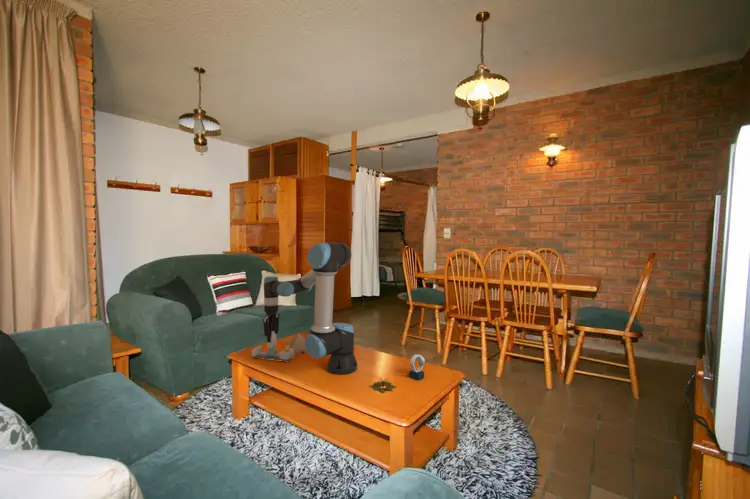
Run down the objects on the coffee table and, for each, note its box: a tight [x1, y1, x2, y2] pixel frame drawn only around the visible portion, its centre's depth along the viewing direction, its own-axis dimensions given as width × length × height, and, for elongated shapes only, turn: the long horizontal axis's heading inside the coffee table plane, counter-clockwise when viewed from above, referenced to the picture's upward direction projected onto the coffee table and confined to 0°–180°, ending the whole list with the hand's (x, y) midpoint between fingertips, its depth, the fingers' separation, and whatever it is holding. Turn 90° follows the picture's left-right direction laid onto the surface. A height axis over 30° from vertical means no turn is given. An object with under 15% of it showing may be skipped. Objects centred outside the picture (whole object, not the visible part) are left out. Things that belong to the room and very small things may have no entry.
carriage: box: [266, 331, 279, 356], centre depth 185 cm, size 4×5×13 cm
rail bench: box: [251, 345, 295, 362], centre depth 185 cm, size 22×7×5 cm, turn 75°
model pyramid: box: [282, 333, 308, 355], centre depth 201 cm, size 17×17×10 cm
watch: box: [408, 353, 426, 382], centre depth 159 cm, size 6×8×11 cm
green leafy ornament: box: [369, 377, 397, 394], centre depth 150 cm, size 12×12×5 cm
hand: (271, 346), depth 185 cm, fingers closed on carriage, 3 cm apart
